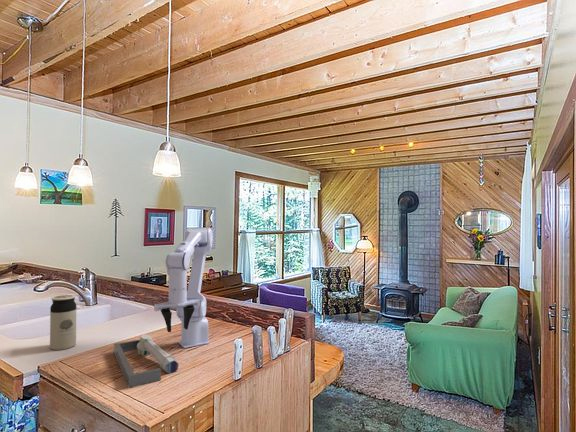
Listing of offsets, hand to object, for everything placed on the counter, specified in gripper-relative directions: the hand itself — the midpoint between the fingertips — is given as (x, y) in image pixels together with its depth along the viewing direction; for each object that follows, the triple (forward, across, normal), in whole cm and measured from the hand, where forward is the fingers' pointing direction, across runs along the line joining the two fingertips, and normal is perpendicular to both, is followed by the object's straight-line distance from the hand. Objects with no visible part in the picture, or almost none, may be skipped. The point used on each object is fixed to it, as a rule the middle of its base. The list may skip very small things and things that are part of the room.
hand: (177, 330), depth 118 cm
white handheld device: (+10, -6, +2) cm, 12 cm away
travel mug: (+10, -32, +34) cm, 47 cm away
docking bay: (+9, -13, +2) cm, 16 cm away
